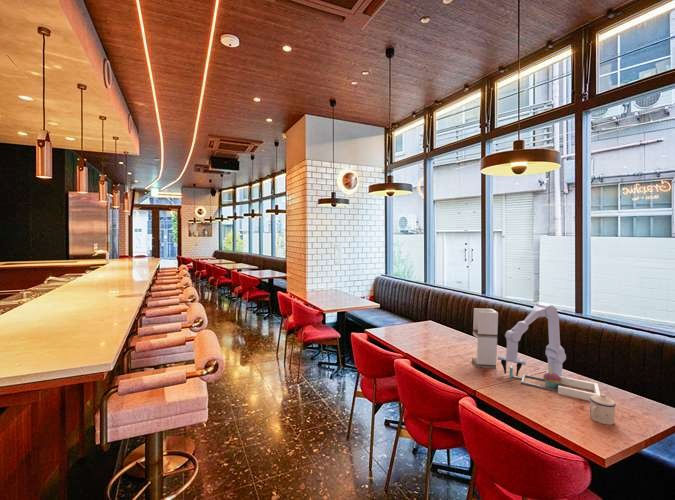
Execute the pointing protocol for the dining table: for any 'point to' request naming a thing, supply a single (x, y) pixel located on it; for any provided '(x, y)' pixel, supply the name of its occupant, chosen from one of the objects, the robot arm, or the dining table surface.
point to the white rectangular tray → (579, 384)
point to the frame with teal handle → (530, 383)
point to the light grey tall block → (485, 337)
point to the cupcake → (552, 379)
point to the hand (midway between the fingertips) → (511, 374)
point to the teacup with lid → (602, 409)
